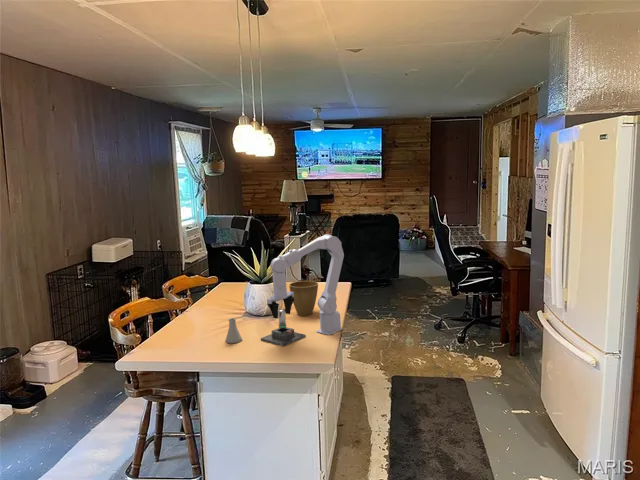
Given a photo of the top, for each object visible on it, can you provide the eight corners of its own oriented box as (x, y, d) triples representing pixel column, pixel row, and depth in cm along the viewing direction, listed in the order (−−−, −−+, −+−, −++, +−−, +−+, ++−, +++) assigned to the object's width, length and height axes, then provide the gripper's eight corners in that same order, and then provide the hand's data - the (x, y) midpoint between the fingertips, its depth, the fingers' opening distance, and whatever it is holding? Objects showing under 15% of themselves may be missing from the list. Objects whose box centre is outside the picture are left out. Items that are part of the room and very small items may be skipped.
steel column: (282, 325, 215) (281, 308, 214) (287, 326, 213) (286, 310, 212) (277, 327, 213) (276, 310, 212) (282, 329, 211) (281, 311, 210)
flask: (222, 341, 214) (220, 319, 213) (236, 337, 219) (234, 315, 218) (231, 345, 209) (229, 322, 208) (245, 340, 214) (243, 318, 213)
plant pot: (307, 319, 239) (305, 288, 237) (285, 315, 248) (283, 285, 246) (325, 312, 251) (323, 282, 249) (303, 308, 260) (301, 279, 258)
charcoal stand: (283, 331, 224) (282, 323, 223) (305, 336, 214) (305, 328, 214) (260, 340, 213) (260, 331, 213) (283, 346, 204) (282, 337, 203)
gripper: (285, 281, 218) (286, 310, 220) (261, 288, 208) (263, 318, 209) (296, 283, 214) (298, 312, 216) (272, 290, 203) (274, 321, 205)
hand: (281, 315), depth 212 cm, fingers open, 7 cm apart
